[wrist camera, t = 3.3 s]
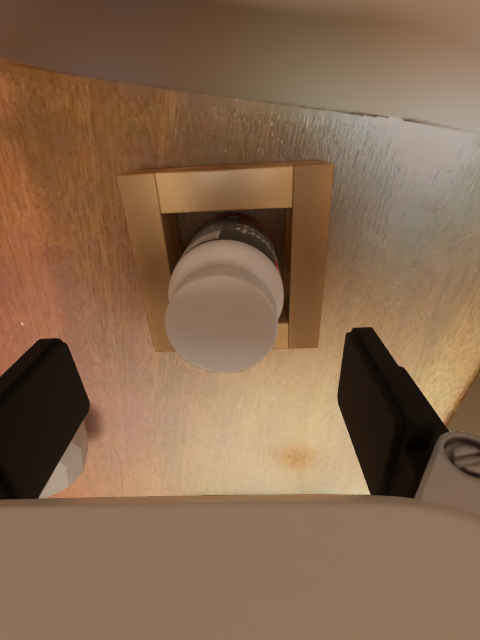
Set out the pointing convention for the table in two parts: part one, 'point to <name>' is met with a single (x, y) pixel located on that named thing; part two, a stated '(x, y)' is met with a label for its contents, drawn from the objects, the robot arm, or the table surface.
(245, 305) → the pill bottle
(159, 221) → the holder
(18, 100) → the table surface
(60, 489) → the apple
